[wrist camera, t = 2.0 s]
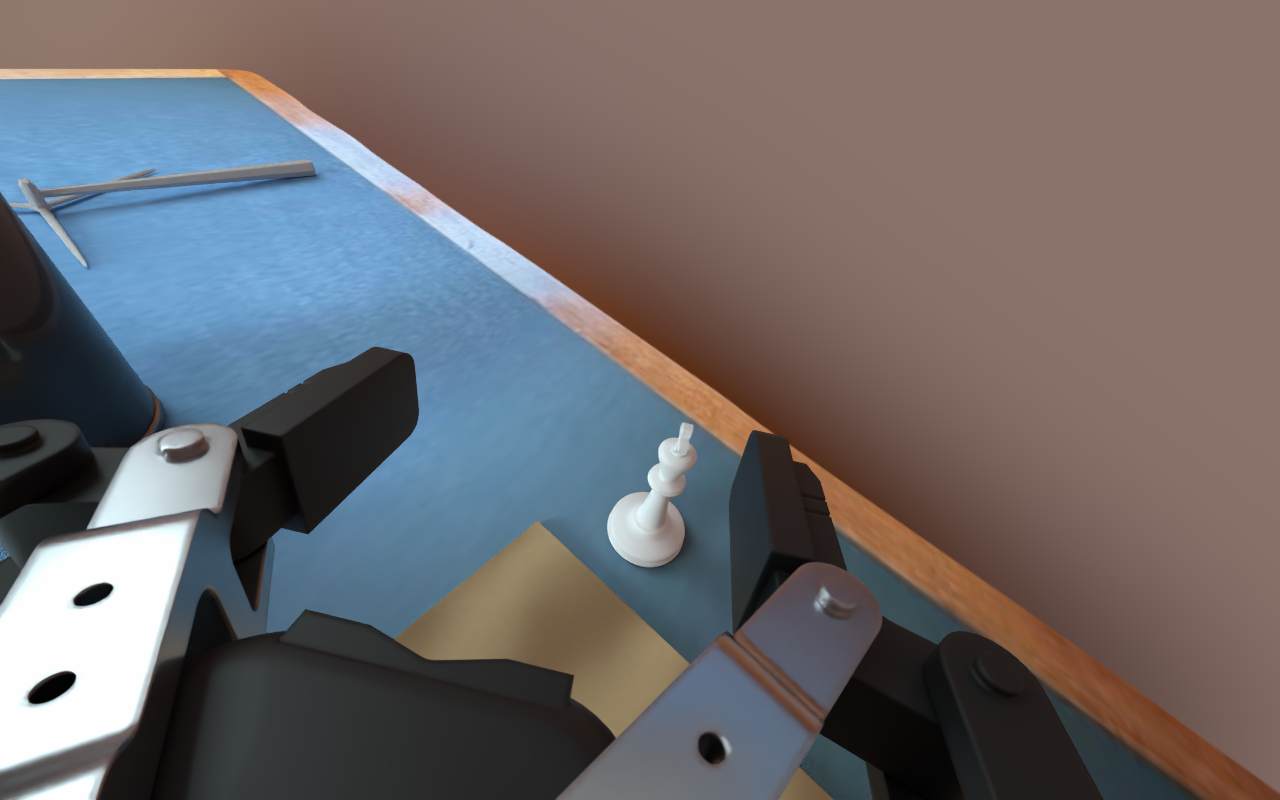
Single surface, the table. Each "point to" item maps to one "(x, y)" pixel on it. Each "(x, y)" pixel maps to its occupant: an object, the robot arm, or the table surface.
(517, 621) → the corner board
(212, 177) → the wind turbine model
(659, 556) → the chess piece
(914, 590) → the table surface
